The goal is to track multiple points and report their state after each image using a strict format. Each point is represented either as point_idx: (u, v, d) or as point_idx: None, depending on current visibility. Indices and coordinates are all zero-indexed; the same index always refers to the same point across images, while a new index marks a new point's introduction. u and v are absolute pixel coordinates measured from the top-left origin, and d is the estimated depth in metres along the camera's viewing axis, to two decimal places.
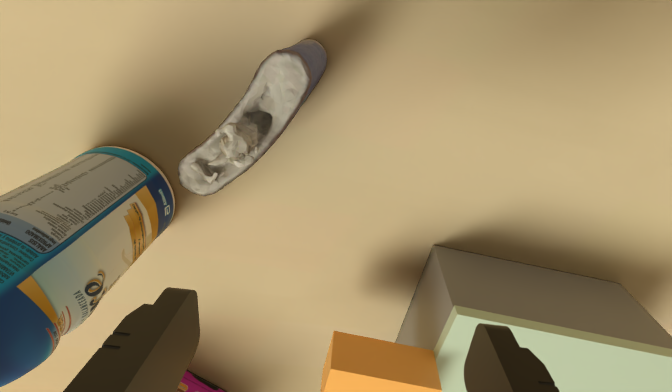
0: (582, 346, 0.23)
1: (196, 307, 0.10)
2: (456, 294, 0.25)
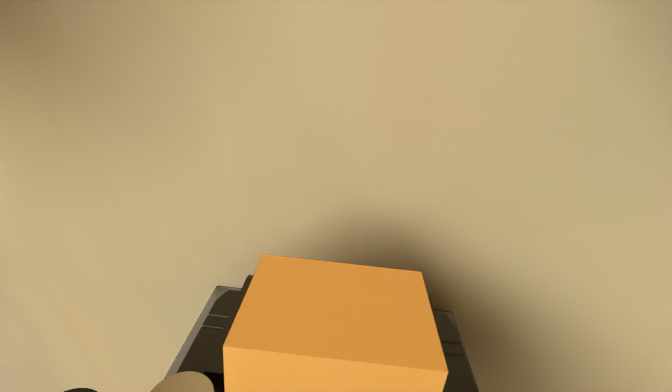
0: None
1: None
2: None
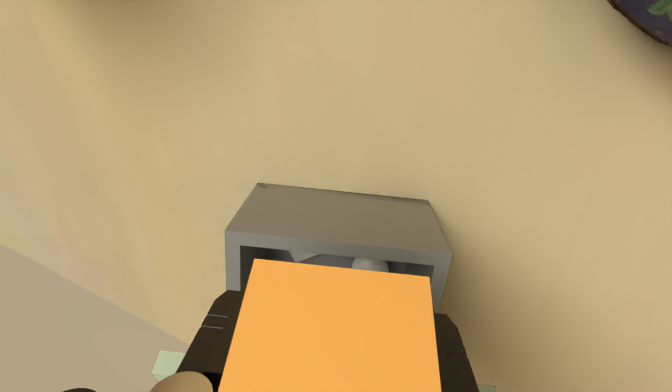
0: None
1: None
2: None
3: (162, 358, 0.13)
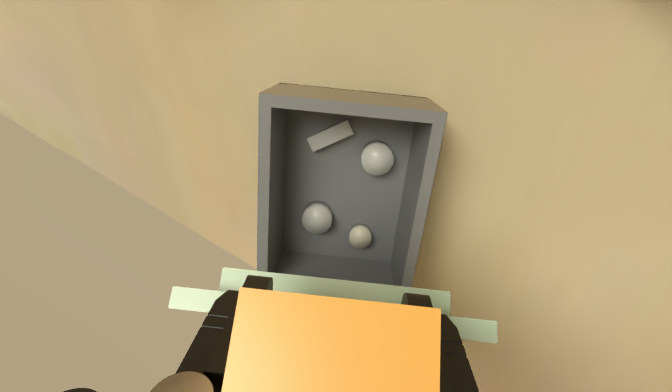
0: None
1: None
2: None
3: (175, 294, 0.14)
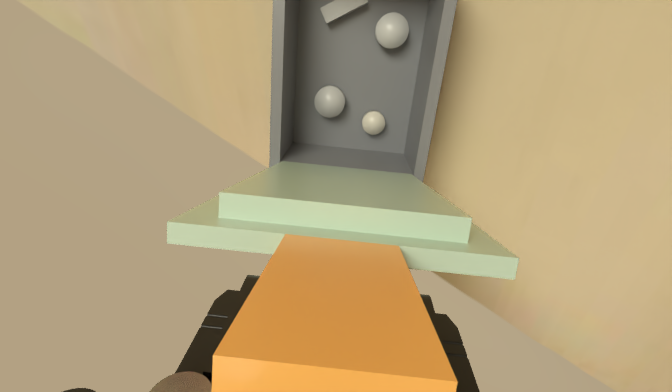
0: None
1: None
2: None
3: (171, 229, 0.13)
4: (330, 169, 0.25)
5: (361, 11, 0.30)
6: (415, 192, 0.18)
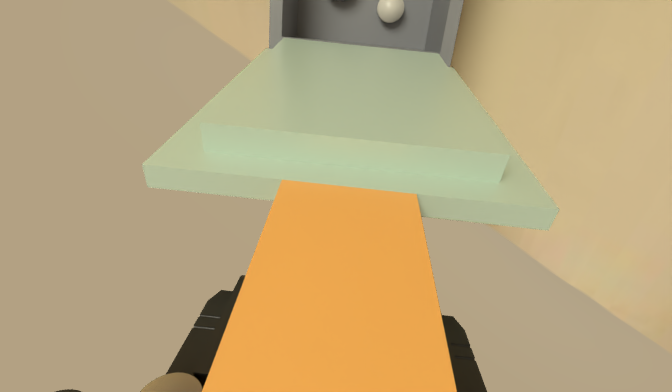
0: None
1: None
2: None
3: (149, 173, 0.11)
4: (340, 52, 0.21)
5: None
6: (442, 98, 0.15)
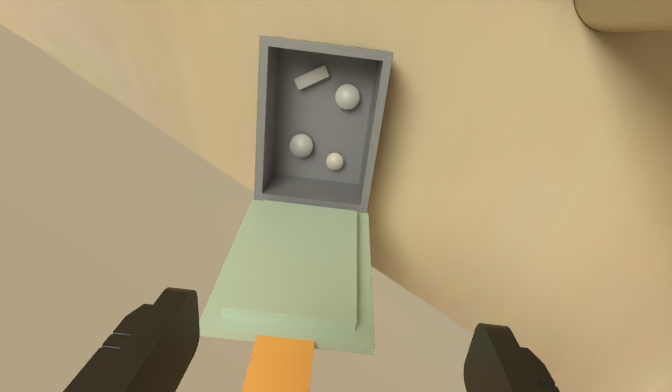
0: None
1: (196, 307, 0.10)
2: None
3: None
4: (296, 217, 0.35)
5: (325, 80, 0.40)
6: (341, 271, 0.30)
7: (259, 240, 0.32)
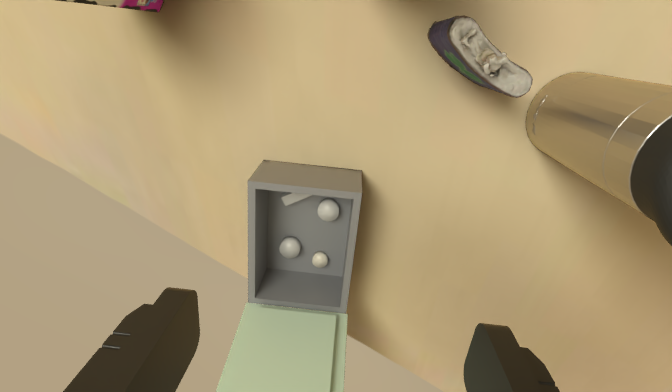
0: None
1: (196, 307, 0.10)
2: None
3: None
4: (282, 327, 0.41)
5: (309, 195, 0.45)
6: (316, 388, 0.36)
7: (249, 356, 0.38)
